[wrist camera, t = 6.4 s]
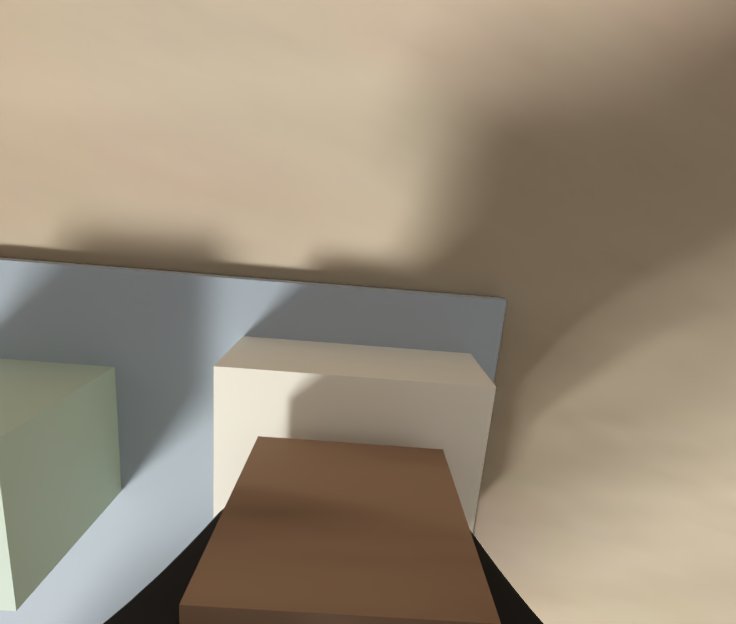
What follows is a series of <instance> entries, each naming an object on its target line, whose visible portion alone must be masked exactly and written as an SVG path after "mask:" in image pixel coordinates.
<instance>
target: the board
mask: <svg viewBox="0 0 736 624" xmlns="http://www.w3.org/2000/svg"><path fill="white" fill-rule="evenodd" d="M506 304H507V300H505V299H504V298H500V297H488V296H475V295H463V294H450V293H438V292H426V291H413V290H401V289H388V288H376V287H363V286H351V285H338V284H326V283H314V282H301V281H289V280H276V279H264V278H251V277H239V276H226V275H214V274H201V273H189V272H177V271H164V270H152V269H139V268H127V267H114V266H102V265H89V264H77V263H65V262H52V261H40V260H27V259H15V258H2V257H0V359H13V360H27V361H41V362H54V363H68V364H81V365H95V366H108V367H115V380H116V399H117V417H118V435H119V454H120V472H121V492H120V493H119V494H118V495H117V497H116V498H115V499H114V500H113V501H112V502H111V503H110V505H109V506H108V507H107V508H106V509H105V510H104V511H103V513H102V514H101V515H100V516H99V517H98V518H97V519H96V521H95V522H94V523H93V524H92V525H91V526H90V527H89V529H88V530H87V531H86V532H85V533H84V534H83V535H82V537H81V538H80V539H79V540H78V541H77V542H76V543H75V545H74V546H73V547H72V548H71V549H70V550H69V551H68V553H67V554H66V555H65V556H64V557H63V558H62V559H61V561H60V562H59V563H58V564H57V565H56V566H55V567H54V569H53V570H52V571H51V572H50V573H49V574H48V575H47V577H46V578H45V579H44V580H43V581H42V582H41V583H40V585H39V586H38V587H37V588H36V589H35V590H34V591H33V593H32V594H31V595H30V596H29V597H28V598H27V599H26V601H25V602H24V603H23V604H22V605H21V606H20V607H19V609H18V610H17V611H5V610H0V624H103V623H104V622H106V621H107V620H108V619H109V618H110V617H112V616H113V615H114V614H115V613H116V612H118V611H119V610H120V609H121V608H122V607H123V606H125V605H126V604H127V603H128V602H129V601H130V600H132V599H133V598H134V597H135V596H136V595H137V594H138V593H139V592H140V591H141V590H143V589H144V588H145V587H146V586H147V585H148V584H149V583H150V582H151V581H152V580H153V579H155V578H156V577H157V576H158V575H159V574H160V573H161V572H162V571H163V570H164V569H165V568H166V567H167V566H168V565H169V564H170V563H171V562H172V561H173V560H174V559H175V558H176V557H177V556H178V555H179V554H180V553H181V552H182V551H183V550H184V549H185V548H186V547H187V546H188V545H189V544H190V543H191V542H192V541H193V540H194V539H195V538H196V537H197V536H198V535H199V534H200V533H201V532H202V530H203V529H204V528H205V527H206V526H207V525H208V524H209V523H210V522H211V521H212V520H213V478H214V365H215V364H216V363H217V362H218V361H219V360H220V359H221V358H222V357H223V356H224V355H225V354H226V353H227V352H228V351H229V350H230V349H231V348H232V347H233V346H234V345H235V344H236V343H237V342H238V341H239V340H240V339H241V338H242V337H243V336H249V337H262V338H275V339H288V340H301V341H314V342H327V343H340V344H353V345H366V346H380V347H393V348H406V349H419V350H432V351H445V352H458V353H470V354H471V355H472V356H473V358H474V359H475V360H476V361H477V363H478V364H479V365H480V367H481V368H482V369H483V371H484V372H485V373H486V374H487V376H488V377H489V378H490V380H491V381H492V382H493V384H494V379H495V373H496V367H497V360H498V354H499V348H500V342H501V335H502V329H503V323H504V317H505V310H506Z"/></svg>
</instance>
